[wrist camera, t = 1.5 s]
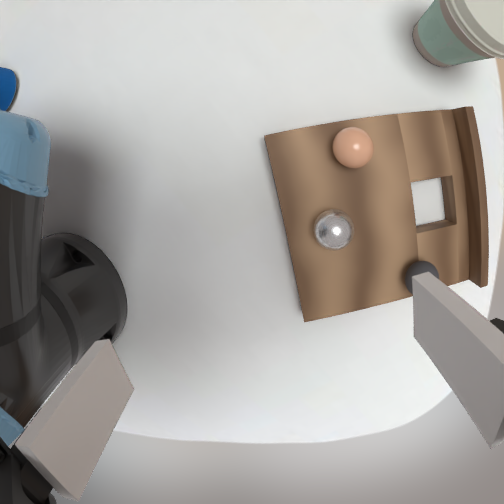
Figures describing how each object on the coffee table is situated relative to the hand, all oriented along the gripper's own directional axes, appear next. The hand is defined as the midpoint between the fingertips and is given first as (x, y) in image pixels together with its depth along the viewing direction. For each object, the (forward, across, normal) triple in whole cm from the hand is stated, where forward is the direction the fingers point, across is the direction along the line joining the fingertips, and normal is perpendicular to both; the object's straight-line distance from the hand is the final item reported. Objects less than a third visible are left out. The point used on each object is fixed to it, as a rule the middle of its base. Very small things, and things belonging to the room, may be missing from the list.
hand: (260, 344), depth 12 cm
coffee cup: (+20, +23, +16) cm, 35 cm away
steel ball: (+16, +6, 0) cm, 17 cm away
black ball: (+16, +14, -7) cm, 22 cm away
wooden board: (+20, +12, 0) cm, 24 cm away
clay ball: (+16, +9, +6) cm, 19 cm away
